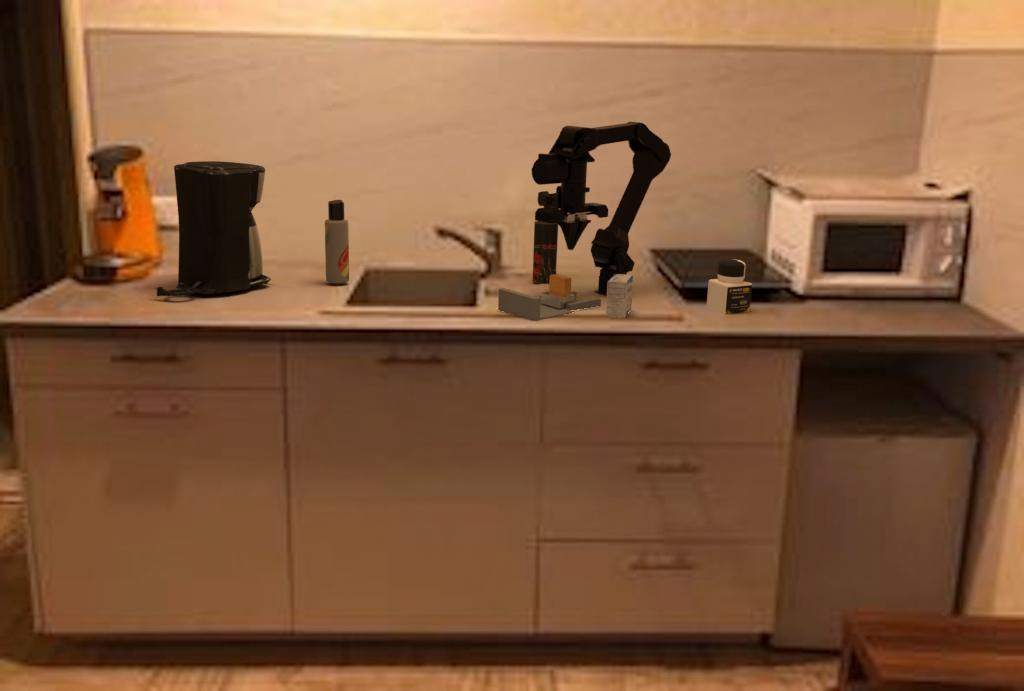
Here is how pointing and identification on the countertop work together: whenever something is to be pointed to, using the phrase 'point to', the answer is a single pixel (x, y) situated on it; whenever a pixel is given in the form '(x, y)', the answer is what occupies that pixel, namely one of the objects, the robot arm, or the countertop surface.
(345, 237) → the lotion bottle
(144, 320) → the countertop surface
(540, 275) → the deodorant
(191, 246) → the coffee maker
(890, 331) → the countertop surface
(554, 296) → the ram
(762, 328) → the countertop surface
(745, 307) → the medicine bottle
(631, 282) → the medicine box
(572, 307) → the press bed
